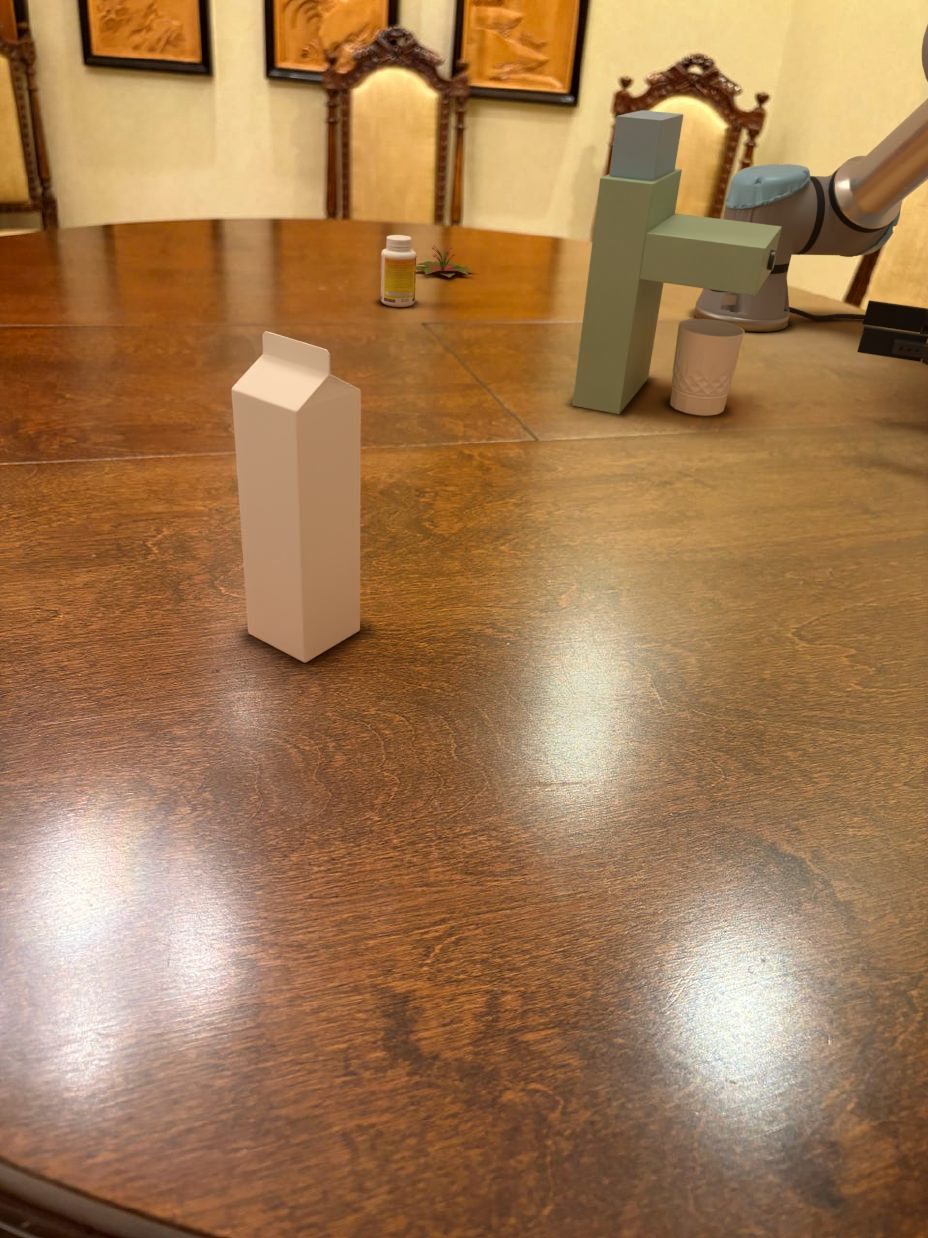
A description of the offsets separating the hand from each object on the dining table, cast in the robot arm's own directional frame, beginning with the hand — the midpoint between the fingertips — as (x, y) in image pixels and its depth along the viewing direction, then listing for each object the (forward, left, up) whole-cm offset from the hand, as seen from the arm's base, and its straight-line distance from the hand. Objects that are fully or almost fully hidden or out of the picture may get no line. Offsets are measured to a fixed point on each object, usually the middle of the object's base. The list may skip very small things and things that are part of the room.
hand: (862, 324), depth 111 cm
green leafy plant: (+24, -85, -13) cm, 89 cm away
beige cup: (+13, -11, -13) cm, 21 cm away
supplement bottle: (+38, -64, -13) cm, 75 cm away
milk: (+70, +30, -13) cm, 77 cm away
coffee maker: (+16, -14, -13) cm, 25 cm away
